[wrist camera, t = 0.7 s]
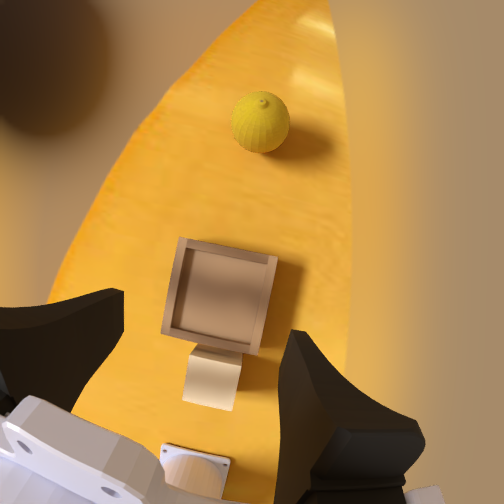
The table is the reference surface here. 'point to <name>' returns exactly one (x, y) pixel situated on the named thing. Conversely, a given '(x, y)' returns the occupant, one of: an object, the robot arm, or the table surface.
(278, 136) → the lemon
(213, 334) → the tray
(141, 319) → the table surface
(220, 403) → the block
